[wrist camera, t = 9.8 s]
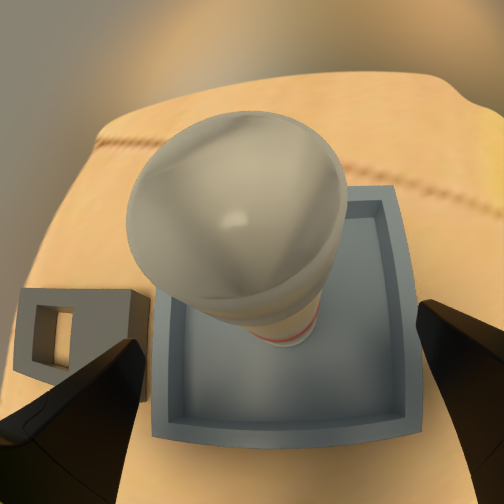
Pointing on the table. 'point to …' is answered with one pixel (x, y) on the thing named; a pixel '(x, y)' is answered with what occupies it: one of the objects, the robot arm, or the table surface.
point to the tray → (303, 354)
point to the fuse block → (76, 328)
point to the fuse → (242, 221)
